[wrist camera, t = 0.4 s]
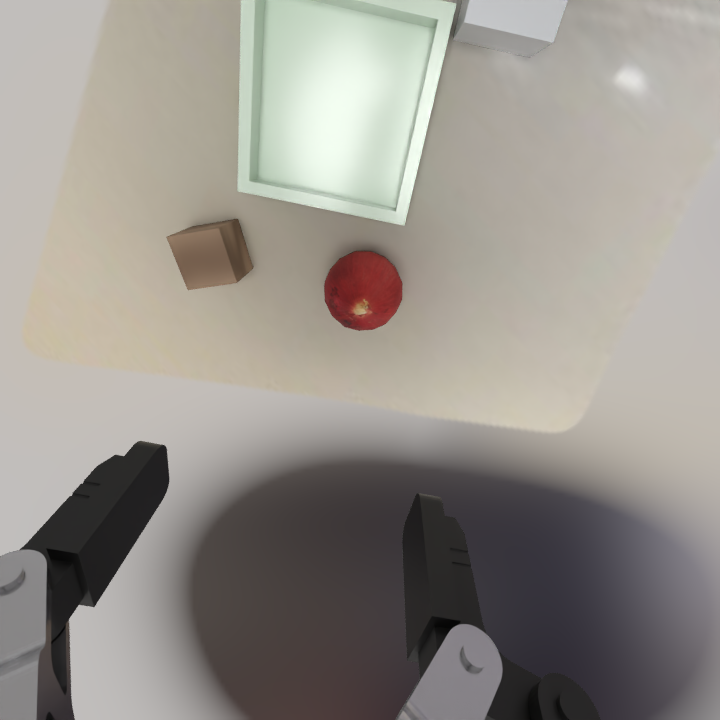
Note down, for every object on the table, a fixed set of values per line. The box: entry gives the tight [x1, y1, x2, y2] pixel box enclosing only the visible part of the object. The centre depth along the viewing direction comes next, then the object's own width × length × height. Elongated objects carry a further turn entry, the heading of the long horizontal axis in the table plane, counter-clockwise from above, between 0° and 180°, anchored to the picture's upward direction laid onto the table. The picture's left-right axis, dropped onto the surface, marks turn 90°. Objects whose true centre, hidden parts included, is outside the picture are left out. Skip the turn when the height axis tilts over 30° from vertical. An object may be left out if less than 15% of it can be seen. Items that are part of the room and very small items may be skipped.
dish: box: [237, 0, 456, 226], centre depth 25 cm, size 12×12×2 cm
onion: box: [324, 251, 402, 331], centre depth 28 cm, size 6×6×8 cm
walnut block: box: [167, 219, 253, 290], centre depth 29 cm, size 4×4×4 cm
